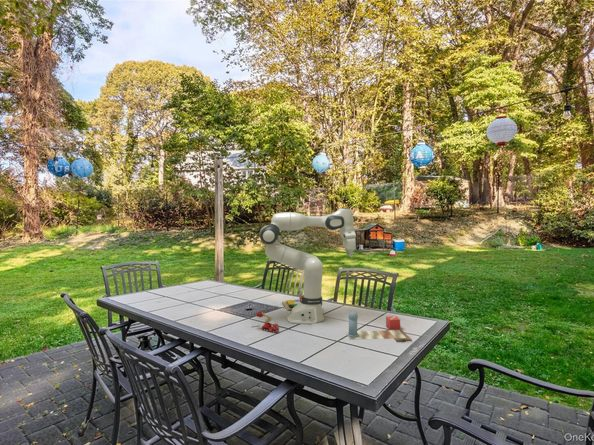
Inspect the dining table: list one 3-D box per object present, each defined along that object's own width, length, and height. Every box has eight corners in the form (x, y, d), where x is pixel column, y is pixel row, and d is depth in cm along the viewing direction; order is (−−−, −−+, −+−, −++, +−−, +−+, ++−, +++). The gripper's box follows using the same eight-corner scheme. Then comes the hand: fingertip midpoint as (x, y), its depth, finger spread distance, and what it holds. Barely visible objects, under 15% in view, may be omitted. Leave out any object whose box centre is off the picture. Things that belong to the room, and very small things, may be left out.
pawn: (348, 337, 173) (349, 313, 173) (346, 333, 179) (346, 310, 178) (359, 337, 174) (359, 313, 173) (356, 333, 179) (357, 309, 179)
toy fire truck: (276, 333, 182) (276, 316, 182) (256, 329, 189) (256, 312, 189) (279, 331, 185) (279, 314, 185) (260, 327, 192) (259, 310, 192)
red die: (389, 330, 187) (389, 319, 186) (386, 326, 193) (386, 316, 192) (400, 330, 187) (400, 319, 187) (396, 326, 193) (396, 315, 193)
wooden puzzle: (287, 311, 222) (287, 306, 222) (281, 303, 240) (281, 299, 240) (312, 309, 227) (312, 304, 226) (304, 302, 245) (304, 297, 245)
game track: (346, 343, 169) (346, 341, 169) (340, 333, 183) (340, 330, 183) (411, 341, 171) (411, 339, 171) (401, 331, 185) (401, 329, 185)
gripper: (339, 233, 215) (341, 254, 216) (346, 235, 195) (348, 259, 195) (348, 232, 215) (350, 253, 216) (356, 234, 195) (358, 258, 196)
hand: (349, 256), depth 206 cm, fingers open, 8 cm apart
